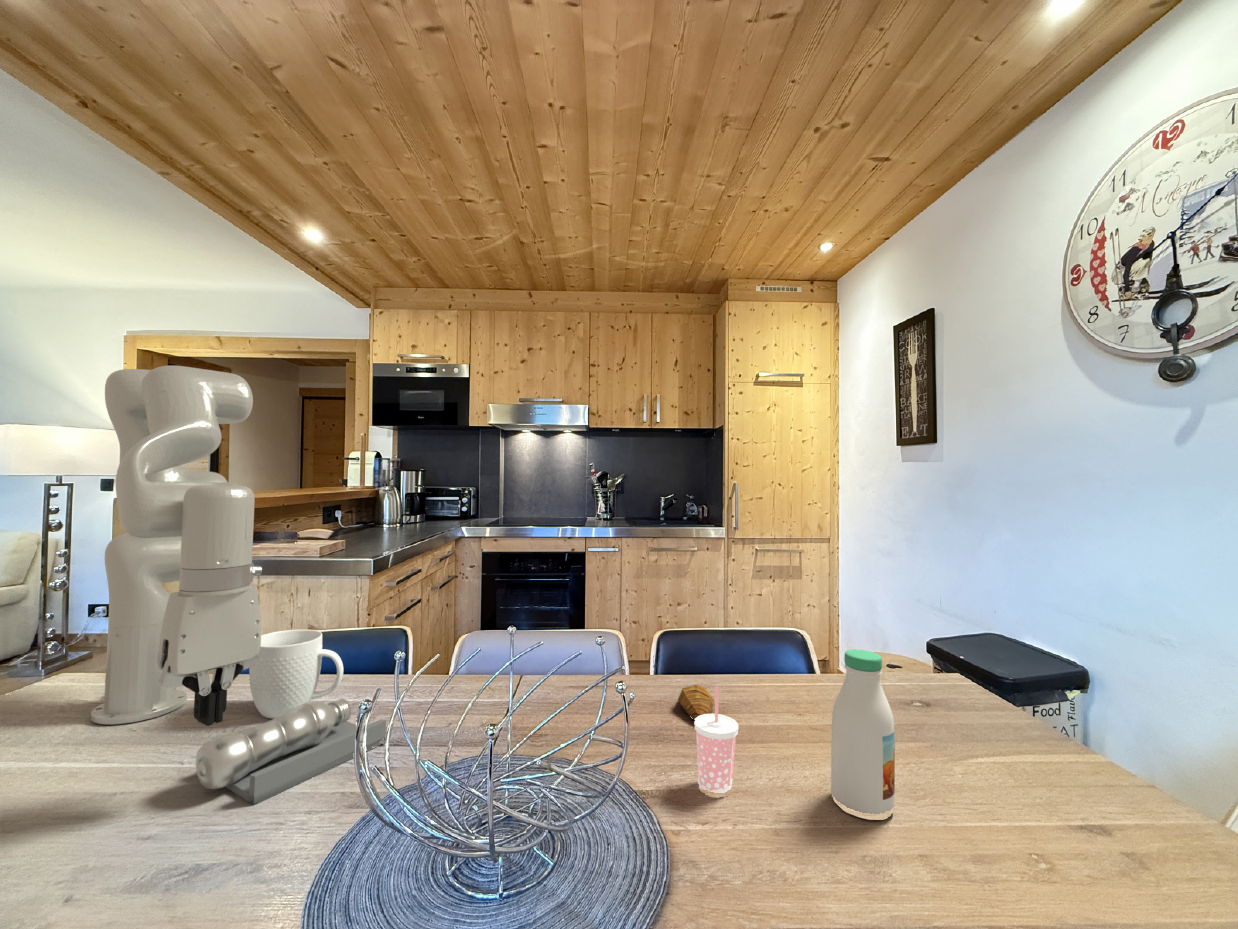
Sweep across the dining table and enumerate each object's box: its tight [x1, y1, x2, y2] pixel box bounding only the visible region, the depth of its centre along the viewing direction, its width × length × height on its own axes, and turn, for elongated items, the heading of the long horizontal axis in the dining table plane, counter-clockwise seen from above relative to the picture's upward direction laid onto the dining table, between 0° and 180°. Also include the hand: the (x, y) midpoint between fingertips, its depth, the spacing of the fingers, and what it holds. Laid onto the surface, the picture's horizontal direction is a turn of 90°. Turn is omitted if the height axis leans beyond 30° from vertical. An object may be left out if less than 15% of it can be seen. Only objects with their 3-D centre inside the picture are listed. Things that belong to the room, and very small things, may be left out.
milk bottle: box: [830, 649, 896, 814], centre depth 71 cm, size 8×8×20 cm
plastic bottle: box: [195, 698, 352, 790], centre depth 77 cm, size 6×7×20 cm
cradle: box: [224, 719, 387, 806], centre depth 79 cm, size 12×19×4 cm, turn 150°
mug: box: [248, 628, 344, 720], centre depth 95 cm, size 15×11×13 cm
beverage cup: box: [693, 685, 739, 793], centre depth 74 cm, size 6×6×14 cm
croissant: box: [677, 684, 715, 719], centre depth 99 cm, size 14×7×5 cm, turn 2°
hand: (209, 721), depth 69 cm, fingers closed
